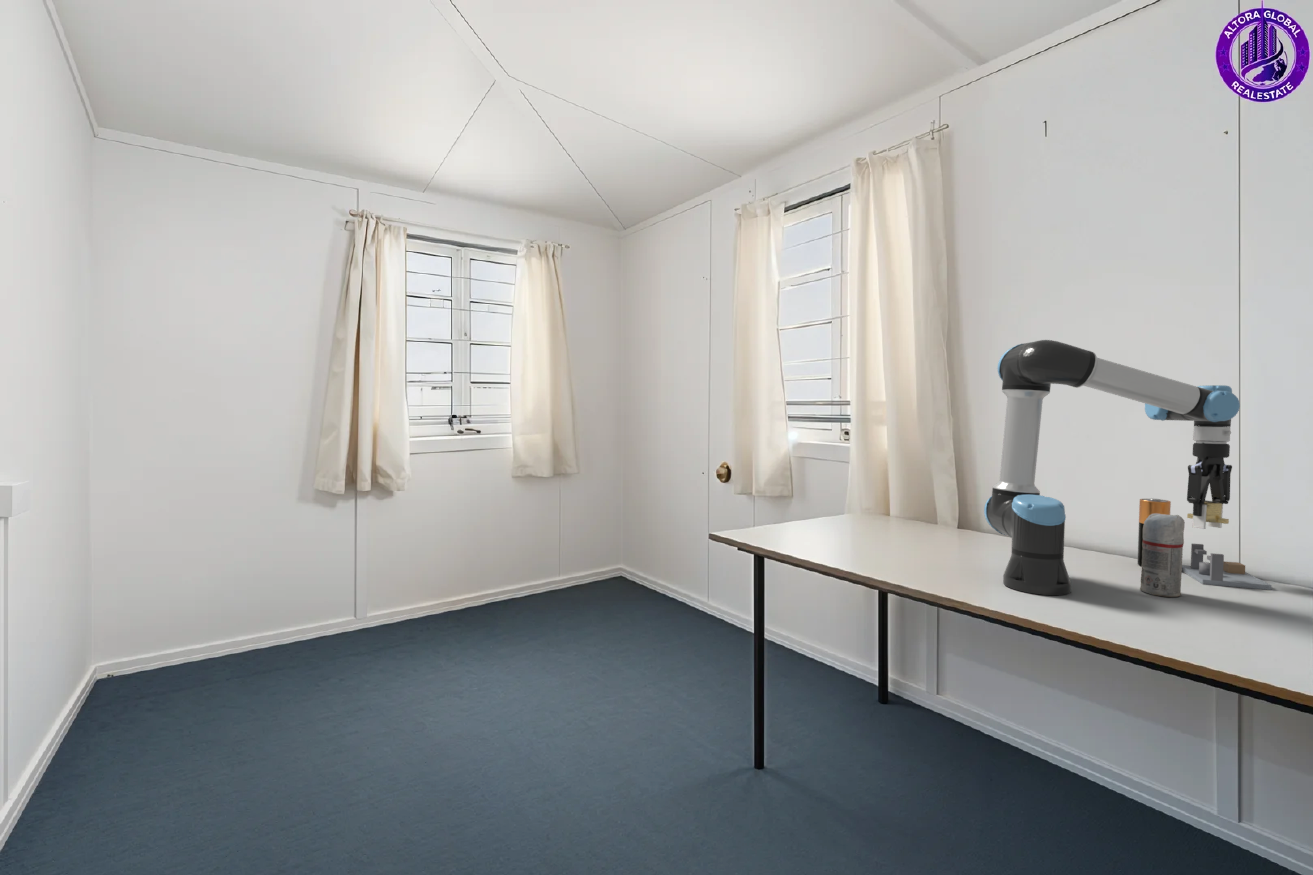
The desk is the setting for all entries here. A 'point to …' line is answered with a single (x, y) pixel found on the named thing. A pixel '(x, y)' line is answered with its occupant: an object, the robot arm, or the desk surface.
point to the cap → (1213, 513)
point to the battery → (1145, 511)
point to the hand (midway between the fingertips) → (1207, 527)
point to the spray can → (1162, 555)
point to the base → (1220, 571)
